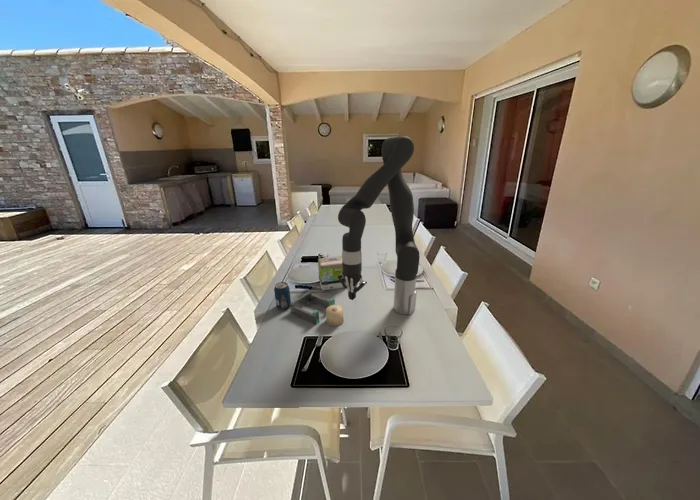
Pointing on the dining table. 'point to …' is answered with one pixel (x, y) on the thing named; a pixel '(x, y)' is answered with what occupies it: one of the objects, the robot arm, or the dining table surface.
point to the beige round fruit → (334, 315)
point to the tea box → (330, 272)
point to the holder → (303, 301)
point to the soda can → (282, 296)
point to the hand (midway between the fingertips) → (352, 298)
